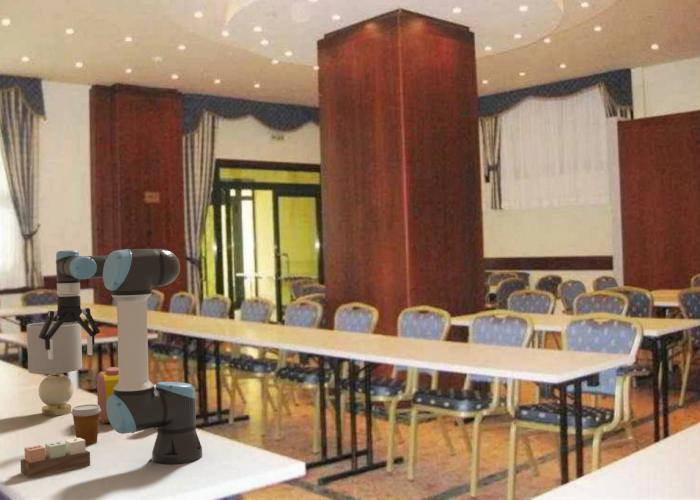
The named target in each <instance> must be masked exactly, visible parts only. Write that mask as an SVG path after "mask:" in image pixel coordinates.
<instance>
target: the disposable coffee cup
mask: <svg viewBox="0 0 700 500" xmlns="http://www.w3.org/2000/svg"><path fill="white" fill-rule="evenodd" d="M100 411H101V409H100V406H99V405H98V404H93V403H91V404H80V405H76V406H73V407H72V408H71V415H72V419H73V425H74V431H75V438H82V439H84V440H85V446H90V445H93V444H96V443H97V442H98V435H99V434H98V433H99V425H100V417H99V416H100Z"/></svg>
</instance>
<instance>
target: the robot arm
mask: <svg viewBox="0 0 700 500" xmlns="http://www.w3.org/2000/svg"><path fill="white" fill-rule="evenodd" d="M55 267H56V268H55V269H56V294H57V295H58V296H57V299H56V301H57V310H55V311H54V310H48V311H47V317H46V320H45V321H44V322H45V324H44V326H43V328H42V330H41V333H40V335H39V338H40V339H44V340H45V349H46V350H48V359H50V360H53V340H50V339H51V338H52V336H53V335H54V334H55V332H56V331H57V330H58V328H59V327H60V326H61V325H62V324H63V323H69V322H78V323H79V324H80V325H81V329H83V330H84V331H85V332H86V333H87V335H86V343H87V345H86V347H87V348H86V350H87V351H86V353H87V354H86V355H88V356H93V346H94V345H95V343H96V341H95V339H96V338H95V336H96V335H97V334H100V333H101V331H100V329H99V327H98V325H97V324H96V322H95V319H94V318H93V316H92V314H91V309H90V308H89V307H83V308H81V306H82V305H81V301H82V300H81V296H80V294H81V280H87V279H99V278H100V279H102V281H103V285H104V287H105V289H107V290H109V291H111V293H110V296H111V297H112V298H113V300H114V299H115V300H116V301H115V302H116V318H117V321H116V322H117V323H116V324H117V325H116V326H117V355H118V356H117V358H118V359H117V360H118V363H117V364H118V366H117V367H118V369H119V382H118V383H117V384H116V386H115V387H114V395H111V396H109V397H108V399H107V402H106V411H107V416H108V419H109V421H110V422H109V423H110V425H111V428H112V429H113V431H116V433H118V434H122V435H125V434H134V433H137V432H141V431H147V430H153V429H154V428H157V429H156V430H157V435H156V438H155V441H154V445H153V448H152V454H151V457H152V459H151V460H152V461H153V462H154V463H158V464H166V465H170V464H171V465H174V464H175V465H176V464H185V463H190V462H194V461H196V460H199V459H200V458H202V457H203V447H202V445H201V442H200V439H199V435H198V433H197V426H196V425H197V421H196V419H197V417H196V399H197V398H196V391H195V386H194V385H193V384H190V383H187V382H181V381H159V382H157V383H155V384H154V383H152V381H150V378H149V375H150V374H149V344H148V343H149V340H148V336H149V335H148V303H147V301H148V299H149V298H150V297H151V295H153V294H152V292H153V290H152V289H153V288H161V287H164V286H167V285H170V284H171V283H173V282H174V281H175V280H176V279H177V278H178V276H179V275H180V272H181V264H180V260H179V258H178V257H177V256H176V255H175V253H173V252H172V251H169V250H167V249H165V248H164V249H163V248H141V249H140V248H137V249H129V248H126V249H120V250H119V249H118V250H114V251H112V252H110V253H109V255H80V252H79V251H78V250H58V251H57V252H56V255H55ZM81 315H84V316H85V318H86V320H87V322H88V324H89V325H88V324H87V323H86V322H85V321H84V319H83V318H81ZM56 316H57V317H58V318H57V319H56V323H55V324H54V325H53V327H52V328H51V329H50V331H49V332H48V329H49V327H50V325H51V323H52V322H54V318H56ZM90 327H91V328H90ZM47 332H48V333H47ZM46 334H47V335H46ZM154 385H156V389H154Z"/></svg>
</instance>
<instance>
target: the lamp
mask: <svg viewBox="0 0 700 500" xmlns="http://www.w3.org/2000/svg"><path fill="white" fill-rule="evenodd" d="M56 321H57V320H56ZM56 321H52V323H51V325H50V327H49V329H48V332H49V331H50V329H51V328H52V327H53V325H54V324H55V323H56ZM45 322H46V321H43V322H35V323H29V324H27V325H26V341H27V345H26V346H27V367H28V370H27V371H28V373H30V374H33V375H34V374H35V375H47V376H46V377H45V378H43V379H42V381H41V382H40V383H39V387H38V396H39V399H40V400H41V402H42V403H43V404H44V406H42V407H41V415H42V416H45V417H57V416H63V415H69V414H70V413H71V412H72V404H70V403H68V402H69V401H70V400H71V398H72V397H73V395H74V385H73V382H72V381H71V379H70V378H69V377H68V376H67V375H65V374H64V373H70V372H76V371H79V370H81V369H83V350H82V346H83V345H82V344H83V343H82V326H81V325H80V324H79V323H78V322H69V323H63V324H62V325H61V326H60V327H59V328H58V330H57V331H56V332H55V334H54V335H53V336H52V338H51V339H50V340H53V360H50V359H48V350H46V349H45V340H44V339H40V338H39V335H40V333H41V330H42V328H43V326H44V324H45ZM48 332H47V333H48ZM46 335H47V334H46ZM71 414H72V413H71Z"/></svg>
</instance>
